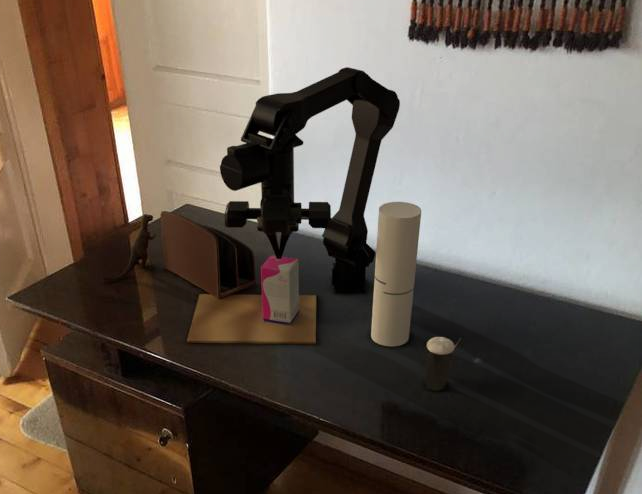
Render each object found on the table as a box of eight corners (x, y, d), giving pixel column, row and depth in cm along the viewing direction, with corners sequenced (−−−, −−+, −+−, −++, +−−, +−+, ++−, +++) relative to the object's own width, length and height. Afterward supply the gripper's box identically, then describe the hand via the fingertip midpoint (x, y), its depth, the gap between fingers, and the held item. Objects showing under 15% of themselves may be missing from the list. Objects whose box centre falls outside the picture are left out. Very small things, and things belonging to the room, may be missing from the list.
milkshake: (453, 395, 124) (460, 345, 118) (421, 391, 124) (427, 341, 118) (454, 380, 127) (461, 330, 121) (423, 376, 128) (428, 327, 122)
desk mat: (316, 297, 151) (316, 295, 151) (315, 344, 136) (315, 341, 136) (199, 296, 151) (199, 294, 151) (187, 342, 137) (186, 340, 136)
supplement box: (299, 311, 145) (299, 257, 138) (290, 325, 141) (289, 271, 134) (272, 306, 147) (270, 253, 140) (262, 321, 142) (259, 267, 135)
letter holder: (219, 300, 149) (214, 234, 141) (164, 269, 161) (156, 206, 152) (257, 285, 154) (254, 220, 146) (201, 256, 166) (195, 195, 158)
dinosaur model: (155, 212, 156) (99, 239, 147) (166, 262, 163) (112, 290, 154) (143, 208, 158) (87, 234, 149) (154, 258, 165) (101, 285, 156)
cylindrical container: (387, 322, 143) (397, 198, 128) (416, 336, 139) (430, 209, 124) (363, 336, 139) (370, 209, 124) (392, 350, 135) (403, 221, 120)
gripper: (218, 192, 120) (224, 278, 130) (332, 193, 120) (329, 279, 129) (225, 168, 129) (230, 250, 139) (331, 169, 129) (329, 251, 138)
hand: (279, 258), depth 136 cm, fingers closed
